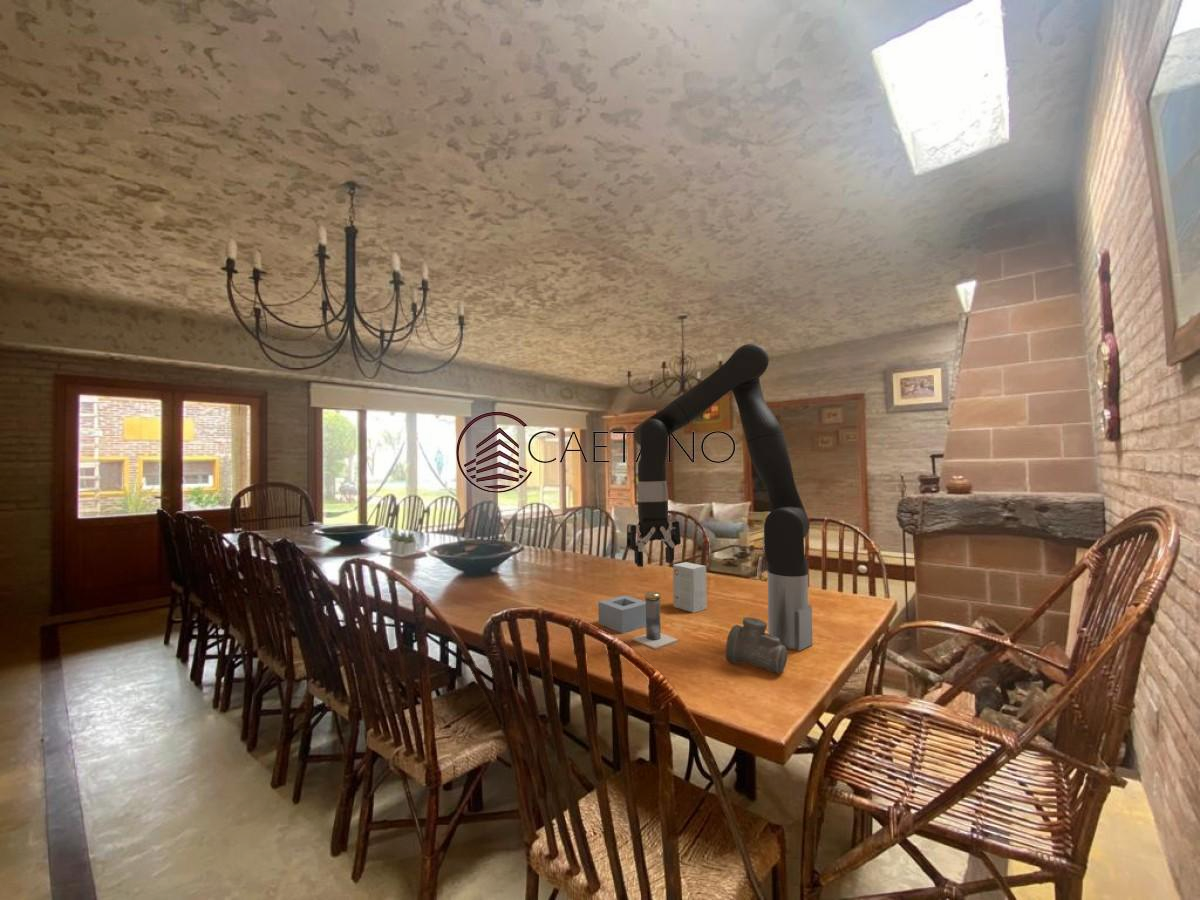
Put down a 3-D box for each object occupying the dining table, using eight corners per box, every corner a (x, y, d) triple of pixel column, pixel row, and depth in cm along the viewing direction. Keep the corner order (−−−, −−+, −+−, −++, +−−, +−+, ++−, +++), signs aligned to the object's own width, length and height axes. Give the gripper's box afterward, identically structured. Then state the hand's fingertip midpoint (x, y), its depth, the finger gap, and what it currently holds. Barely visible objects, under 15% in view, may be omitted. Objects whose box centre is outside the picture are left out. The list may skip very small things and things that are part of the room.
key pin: (657, 633, 125) (656, 590, 125) (664, 639, 121) (663, 594, 121) (643, 635, 124) (642, 592, 124) (649, 641, 120) (648, 596, 120)
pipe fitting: (720, 664, 106) (726, 617, 106) (734, 655, 112) (740, 611, 113) (776, 685, 99) (782, 635, 99) (787, 674, 105) (793, 627, 105)
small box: (707, 609, 146) (706, 565, 147) (693, 613, 142) (692, 568, 143) (686, 603, 153) (686, 561, 153) (672, 607, 149) (672, 564, 149)
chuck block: (649, 625, 133) (649, 602, 133) (622, 633, 126) (622, 610, 127) (625, 616, 141) (625, 595, 141) (598, 623, 134) (598, 601, 134)
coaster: (678, 641, 121) (678, 639, 121) (655, 649, 116) (655, 647, 116) (655, 632, 127) (655, 631, 127) (632, 639, 122) (632, 638, 122)
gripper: (668, 497, 128) (670, 559, 127) (620, 500, 122) (622, 565, 121) (685, 498, 121) (687, 564, 121) (635, 501, 115) (637, 570, 115)
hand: (654, 564), depth 121 cm, fingers open, 8 cm apart
